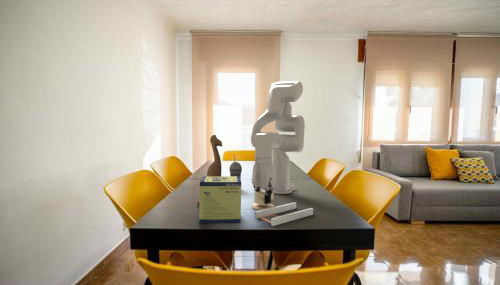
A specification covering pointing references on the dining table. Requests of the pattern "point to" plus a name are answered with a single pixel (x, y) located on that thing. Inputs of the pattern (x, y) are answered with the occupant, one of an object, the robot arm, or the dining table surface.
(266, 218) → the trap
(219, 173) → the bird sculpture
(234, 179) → the protein box
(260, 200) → the block
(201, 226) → the dining table surface
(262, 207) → the coaster
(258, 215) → the channel
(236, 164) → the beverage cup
